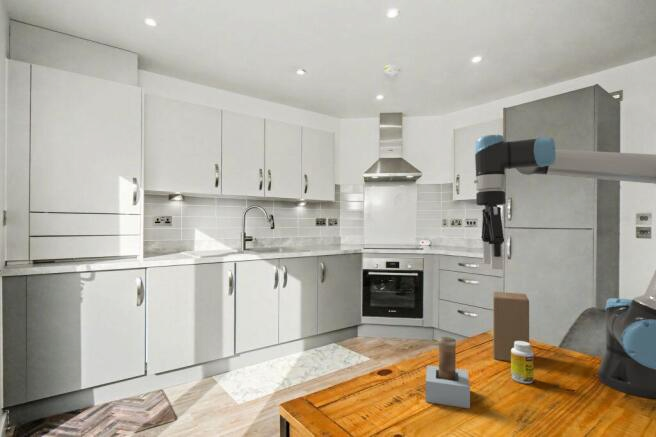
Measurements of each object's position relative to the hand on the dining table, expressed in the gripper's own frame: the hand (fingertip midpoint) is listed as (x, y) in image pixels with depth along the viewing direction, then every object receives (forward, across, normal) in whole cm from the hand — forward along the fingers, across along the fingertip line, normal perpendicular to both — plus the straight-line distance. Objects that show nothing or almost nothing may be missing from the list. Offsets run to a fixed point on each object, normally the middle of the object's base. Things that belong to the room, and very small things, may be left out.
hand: (492, 266), depth 100 cm
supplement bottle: (+32, -1, +7) cm, 33 cm away
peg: (+31, +14, -14) cm, 37 cm away
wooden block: (+32, -19, +8) cm, 38 cm away
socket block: (+31, +14, -14) cm, 37 cm away
